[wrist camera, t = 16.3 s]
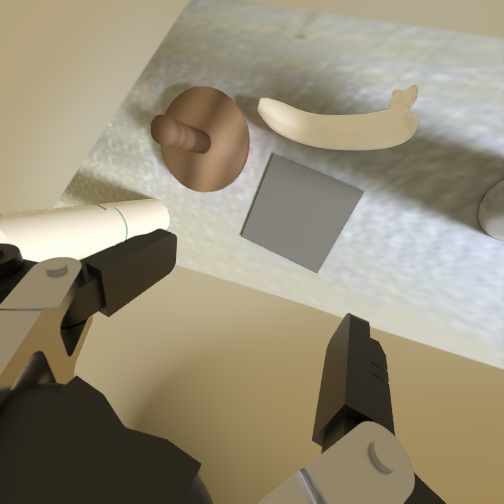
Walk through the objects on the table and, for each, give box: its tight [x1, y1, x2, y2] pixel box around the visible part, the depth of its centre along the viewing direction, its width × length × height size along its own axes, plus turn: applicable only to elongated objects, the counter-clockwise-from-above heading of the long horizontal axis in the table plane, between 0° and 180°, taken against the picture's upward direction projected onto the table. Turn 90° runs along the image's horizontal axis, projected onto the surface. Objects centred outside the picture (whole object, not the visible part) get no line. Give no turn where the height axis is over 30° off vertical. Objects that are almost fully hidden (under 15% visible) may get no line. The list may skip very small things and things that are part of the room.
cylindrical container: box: [0, 199, 169, 262], centre depth 35 cm, size 7×7×25 cm
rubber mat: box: [241, 154, 364, 273], centre depth 38 cm, size 15×15×1 cm
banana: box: [257, 85, 418, 150], centre depth 27 cm, size 5×19×15 cm, turn 82°
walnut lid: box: [151, 86, 250, 192], centre depth 30 cm, size 14×14×10 cm
